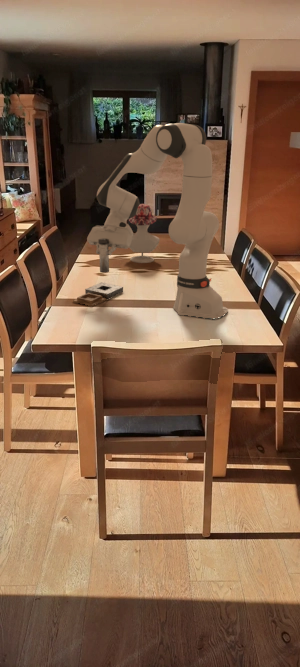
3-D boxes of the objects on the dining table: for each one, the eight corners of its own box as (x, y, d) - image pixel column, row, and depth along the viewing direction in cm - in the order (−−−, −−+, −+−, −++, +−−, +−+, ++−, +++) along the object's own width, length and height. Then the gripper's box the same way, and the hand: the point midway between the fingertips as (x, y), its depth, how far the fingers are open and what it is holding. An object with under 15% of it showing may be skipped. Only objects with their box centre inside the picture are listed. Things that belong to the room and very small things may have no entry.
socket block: (123, 292, 226) (123, 286, 225) (107, 299, 217) (107, 294, 216) (101, 287, 232) (101, 282, 231) (85, 294, 223) (85, 289, 222)
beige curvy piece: (160, 255, 289) (162, 201, 277) (158, 263, 272) (159, 207, 260) (128, 254, 290) (128, 200, 278) (123, 262, 274) (123, 206, 262)
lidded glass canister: (111, 270, 221) (110, 239, 216) (105, 273, 218) (104, 241, 212) (103, 269, 223) (102, 238, 218) (97, 271, 220) (96, 239, 214)
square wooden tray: (106, 300, 216) (106, 295, 215) (92, 306, 208) (91, 302, 208) (87, 295, 221) (87, 291, 220) (73, 302, 213) (72, 297, 212)
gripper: (91, 221, 223) (79, 247, 218) (131, 224, 214) (120, 252, 210) (96, 229, 228) (85, 255, 224) (136, 233, 220) (126, 260, 215)
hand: (103, 253), depth 217 cm, fingers closed on lidded glass canister, 4 cm apart
